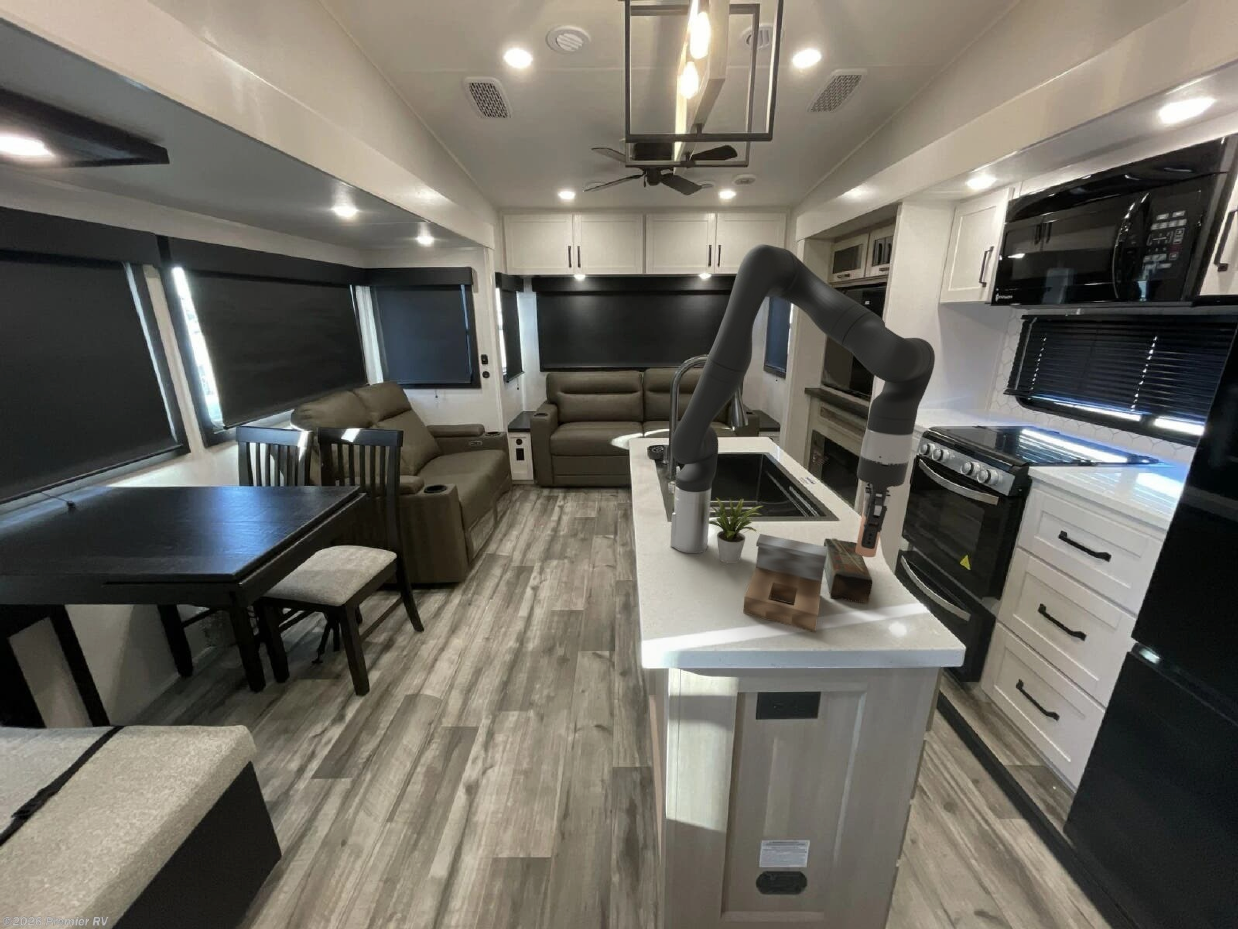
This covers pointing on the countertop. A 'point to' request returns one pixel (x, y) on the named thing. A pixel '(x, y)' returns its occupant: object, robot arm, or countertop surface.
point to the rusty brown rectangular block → (846, 572)
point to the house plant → (732, 531)
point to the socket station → (786, 582)
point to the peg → (861, 550)
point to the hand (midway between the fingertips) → (867, 542)
